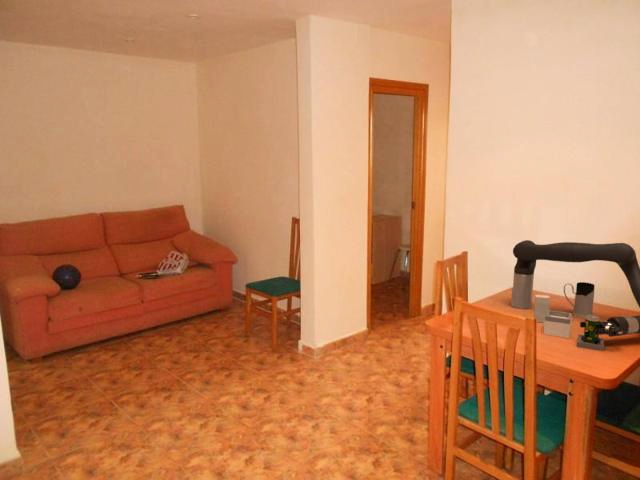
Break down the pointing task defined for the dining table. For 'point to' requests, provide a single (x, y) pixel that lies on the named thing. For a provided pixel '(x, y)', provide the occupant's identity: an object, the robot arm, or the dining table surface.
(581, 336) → the table dock
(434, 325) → the dining table surface
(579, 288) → the grey container
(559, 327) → the riser
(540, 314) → the skincare box
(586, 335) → the beer can
